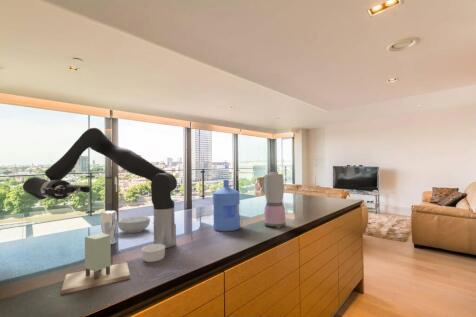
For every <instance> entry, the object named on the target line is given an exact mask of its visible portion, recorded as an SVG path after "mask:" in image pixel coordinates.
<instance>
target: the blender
mask: <svg viewBox="0 0 476 317" xmlns="http://www.w3.org/2000/svg"><path fill="white" fill-rule="evenodd" d="M284 186H285V184H284V174H282V173H279V171H269V173H265V174H264V176H263V177H262V178H261V191H262V193H263V194H264V195H265V199H266V200H265V201H266V204H265V207H264V226H265V227H267V226H269V227H275V228H276V229H280V228H281V227H286V223H287V222H286V209H285V208H286V207H285V206H284V203H283V202H284V201H283V199H284V193H285V188H284Z"/></svg>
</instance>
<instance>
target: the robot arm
mask: <svg viewBox="0 0 476 317" xmlns="http://www.w3.org/2000/svg"><path fill="white" fill-rule="evenodd" d="M88 149H90V150H92V151H94V152H96V153H99V154H100V155H103V156H104V157H107V158H108V159H110V160H111V161H112V162H113V163H114V164H116V165H117V166H119V167H120V168H121V169H123V170H124V171H126V172H128V173H130V174H132V175H135V176H138V177H140V178H144V179H146V180H148V181H150V195H151V196H150V197H151V202H152V205H153V244H163V245H165V246H166V247H165V249H169V248H172V247H174V246H176V245H177V224H176V223H175V222H176V221H175V220H176V218H175V201H174V200H173V199H172V197H171V196H172V195H171V192H172V191H174V190H176V188H177V186H178V181H177V179H176V177H175V175H173V174H172V173H170V172H168V171H166V170H164V169H162V168H160V167H158V166H156V165H154V164H152V163H151V162H149V161H148V160H147V159H145V158H143V157H142V156H141V155H139V154H137V153H136V152H135V151H133V150H131V149H128V148H126V147H125V148H124V147H121V146H118V145H117V144H116V143H114V142H113V141H111V139H109V138H108V137H107V136H106V134H105V133H104V132H103V131H102V130H101V129H99V128H97V127H91V128H87V129H86V130H85V131H84V132H83V133H82V134H81V135H80V137H78V139H76V141H75V142H74V143H73V144H72V146H70V148H69V149H68V150H67V152H65V153H64V154H63V156H61V157H60V158H59V159H58V160H57V161H56V162H54V163H53V164H52V165H51V166H50V167H49V168H47V169H46V170H45V171H44V175H45V176H46V177H47V178H48V179H49V180H47V179H45V178H43V177H42V178H41V177H37V176H34V177H31V178H28V179H27V180H25V181H24V183H23V184H22V190H23V191H24V192H25V193H27V194H29V195H31V196H33V197H34V198H36V199H37V200H45V199H50V200H51V199H52V200H53V199H54V200H64V199H67V197H69V195H75V194H76V195H77V194H80V193H90V192H91V187H90V186H91V185H82V184H71V183H70V182H68V181H67V180H63V179H64V178H65V177H66V176H67V175H69V174H70V173H71V172H72V171H73V170H74V168H75V167H76V165H77V163H78V161H79V159H80V158H81V156H82V155H83V153H84V152H85V151H86V150H88Z"/></svg>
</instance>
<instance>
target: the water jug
mask: <svg viewBox="0 0 476 317" xmlns="http://www.w3.org/2000/svg"><path fill="white" fill-rule="evenodd" d="M229 180H230V179H223V187H221V188H219V189H217V190H216V191H213V193H212V204H213V206H212V208H213V210H212V212H213V213H212V214H213V216H212V217H213V226H212V227H213V229H214V231H218V232H234V231H237V230H240V228H241V216H240V214H238V206H239V205H240V203H241V201H240V200H241V198H240V197H241V196H240V191H238V190H236V189H234V188H232V187H230V186H229V185H230V183H229Z"/></svg>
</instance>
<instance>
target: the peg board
mask: <svg viewBox="0 0 476 317" xmlns="http://www.w3.org/2000/svg"><path fill="white" fill-rule="evenodd" d="M129 279H131V273H130V271H129V266H128V262H125V261H124V262H121V263H117V264H116V263H115V264H112V265H111V266H109V267H106V268H103V269H101V270H98V271H96V272H95V271H92V270H89V269H86V268H85V270H81V271H76V272H71V273H66V275H65V278H64V281H63V284H62V286H61V290H60V295H66V294H70V293H75V292H78V291H83V290H86V289H91V288H96V287H99V286H104V285H108V284H112V283H116V282H121V281H126V280H129Z"/></svg>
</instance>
